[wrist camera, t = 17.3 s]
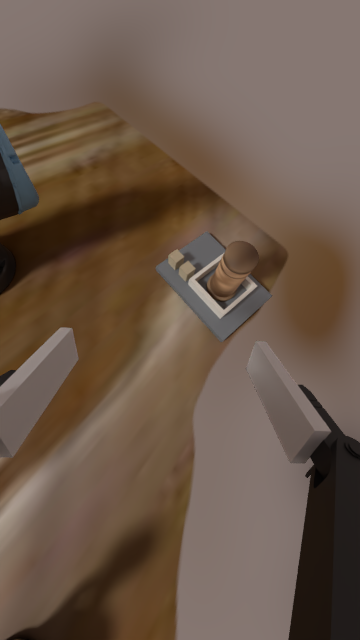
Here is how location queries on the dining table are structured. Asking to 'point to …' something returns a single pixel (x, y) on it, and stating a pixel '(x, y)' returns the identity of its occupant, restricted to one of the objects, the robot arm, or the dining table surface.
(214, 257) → the board
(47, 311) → the dining table surface
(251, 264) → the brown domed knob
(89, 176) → the dining table surface
